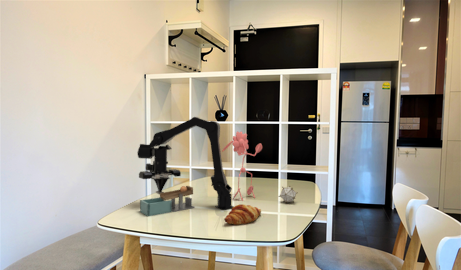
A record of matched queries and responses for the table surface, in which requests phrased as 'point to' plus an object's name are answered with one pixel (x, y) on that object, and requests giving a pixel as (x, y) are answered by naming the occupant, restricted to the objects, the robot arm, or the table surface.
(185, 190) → the ball
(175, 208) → the stand
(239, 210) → the croissant
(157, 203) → the bin
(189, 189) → the lever
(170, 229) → the table surface
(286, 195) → the grey spiked polyhedron
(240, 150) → the figurine
